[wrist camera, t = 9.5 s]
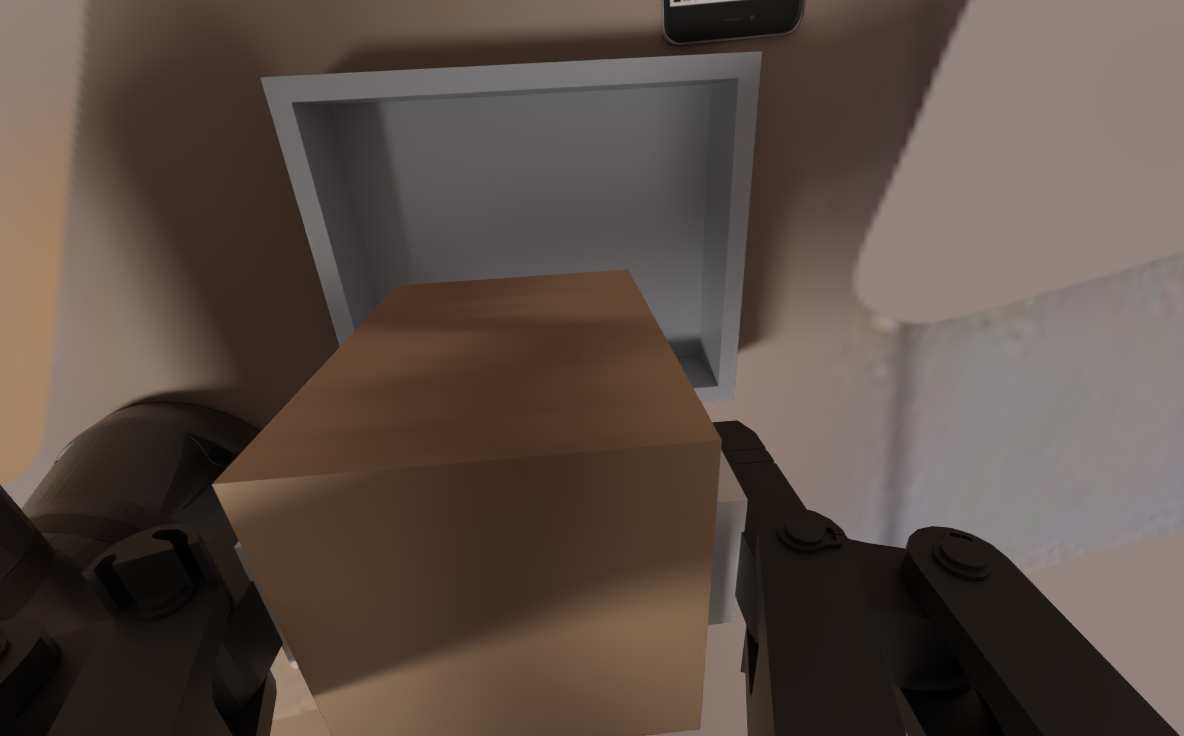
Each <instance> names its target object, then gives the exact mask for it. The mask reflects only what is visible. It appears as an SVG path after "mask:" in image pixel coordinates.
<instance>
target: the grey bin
mask: <svg viewBox="0 0 1184 736" xmlns="http://www.w3.org/2000/svg"><path fill="white" fill-rule="evenodd" d="M761 59H762V51H758V52H739V53H719V54H700V55H681V56H662V57H642V58H623V59H604V60H585V61H565V62H546V63H527V64H508V65H489V66H469V67H450V68H431V69H412V70H392V71H373V72H354V73H335V74H315V75H296V76H277V77H260V78H261V81H262V85H263V88H264V92H265V95H266V98H267V102H268V105H269V109H270V112H271V115H272V119H273V122H274V126H275V129H276V132H277V136H278V139H279V143H280V146H281V149H282V153H283V156H284V160H285V163H286V166H287V170H288V173H289V176H290V180H291V183H292V187H293V190H294V193H295V197H296V200H297V204H298V207H299V210H300V214H301V217H302V221H303V224H304V227H305V231H306V234H307V238H308V241H309V244H310V248H311V251H312V255H313V258H314V261H315V265H316V268H317V271H318V275H319V278H320V282H321V285H322V288H323V292H324V295H325V299H326V302H327V305H328V309H329V312H330V316H331V319H332V322H333V326H334V329H335V333H336V336H337V339H338V343H339V346H341V345H342V344H343V343H344V342H345V341H346V340H347V339H348V338H349V336H350V335H351V334H352V333H353V332H354V331H355V330H356V329H357V328H358V327H359V326H360V325H361V324H362V323H363V321H364V320H365V319H366V318H367V317H368V316H369V315H370V314H371V313H372V312H373V311H374V310H375V309H376V307H377V306H378V305H379V304H380V303H381V302H382V301H383V300H384V299H385V298H386V297H387V296H388V295H389V294H390V292H391V291H392V290H393V289H394V288H395V287H396V286H397V285H411V284H425V283H440V282H454V281H468V280H483V279H497V278H511V277H526V276H540V275H554V274H568V273H583V272H597V271H611V270H626V269H628V270H629V272H630V273H631V275H632V277H633V279H634V281H635V283H636V284H637V286H638V288H639V290H640V292H641V294H642V295H643V297H644V299H645V301H646V303H647V304H648V306H649V308H650V310H651V312H652V314H653V315H654V317H655V319H656V321H657V323H658V325H659V326H660V328H661V330H662V332H663V334H664V336H665V337H666V339H667V341H668V343H669V345H670V346H671V348H672V350H673V352H674V354H675V356H676V357H677V359H678V361H679V363H680V365H681V367H682V368H683V370H684V372H685V374H686V376H687V378H688V379H689V381H690V383H691V385H692V387H693V388H694V390H695V392H696V394H697V396H698V398H699V399H700V401H701V402H710V401H722V400H734V390H735V378H736V366H737V353H738V341H739V329H740V317H741V304H742V292H743V280H744V268H745V255H746V243H747V231H748V219H749V206H750V194H751V182H752V170H753V157H754V145H755V133H756V121H757V108H758V96H759V84H760V72H761Z"/></svg>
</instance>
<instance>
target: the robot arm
mask: <svg viewBox="0 0 1184 736" xmlns="http://www.w3.org/2000/svg"><path fill="white" fill-rule="evenodd" d="M713 425H714V427H715V429H716V430H717V432H718V434H719V436H720V438H721V440H722V443H721V456H720V470H719V483H718V496H717V510H716V523H715V537H714V550H713V563H712V577H711V590H710V604H709V617H708V625H712V624H722V623H731V622H735V613H736V603H737V602H738V604H739V607H740V610H741V612H742V615H743V617H744V620H745V622H746V632H745V640H744V648H743V656H742V665H741V672H744V673H745V675H746V701H747V728H748V736H907V735H908V736H1179V734H1178V733H1177V732H1176V731H1175V730H1174V729H1173V728H1172V727H1171V726H1170V725H1169V724H1168V723H1167V722H1166V721H1165V720H1164V719H1163V718H1162V717H1161V716H1160V715H1159V714H1158V713H1157V712H1156V711H1155V710H1154V709H1153V708H1152V706H1151V705H1150V704H1149V703H1148V702H1147V701H1146V700H1145V699H1144V698H1143V697H1142V696H1141V695H1140V694H1139V693H1138V692H1137V691H1136V690H1135V689H1134V688H1133V687H1132V686H1131V685H1130V684H1129V683H1128V682H1127V681H1126V680H1125V679H1124V678H1123V676H1121V674H1120V673H1119V672H1118V671H1117V670H1116V669H1115V668H1114V667H1113V666H1112V665H1111V664H1110V663H1109V662H1108V661H1107V660H1106V659H1105V658H1104V657H1103V656H1102V655H1101V654H1100V653H1099V652H1098V651H1097V650H1096V649H1095V648H1094V646H1093V645H1092V644H1091V643H1090V642H1089V641H1088V640H1087V639H1086V638H1085V637H1084V636H1083V635H1082V634H1081V633H1080V632H1079V631H1078V630H1077V629H1076V628H1075V627H1074V626H1073V625H1072V624H1071V623H1070V622H1069V621H1068V620H1067V619H1066V618H1065V616H1064V615H1063V614H1062V613H1061V612H1060V611H1059V610H1058V609H1057V608H1056V607H1055V606H1054V605H1053V604H1052V603H1051V602H1050V601H1049V600H1048V599H1047V598H1046V597H1045V596H1044V595H1043V594H1042V593H1041V592H1040V591H1039V590H1038V589H1037V587H1036V586H1035V585H1034V584H1033V583H1032V582H1031V581H1030V580H1029V579H1028V578H1027V577H1026V576H1025V575H1024V574H1023V573H1022V572H1021V571H1020V570H1019V569H1018V568H1017V567H1016V566H1015V565H1014V564H1013V563H1012V562H1011V561H1010V560H1009V559H1008V557H1006V556H1005V555H1004V554H1003V553H1001V552H1000V551H999V550H998V549H996V548H995V547H994V546H993V545H991V544H990V543H988V542H986V541H984V540H982V539H980V538H978V537H976V536H974V535H972V534H970V533H966V532H963V531H960V530H956V529H953V528H947V527H935V526H931V527H926V528H922V529H918V530H916V531H915V532H914V533H913V534H912V535H911V536H909V539H908V542H907V545H906V549H904V548H898V547H891V546H884V545H878V544H871V543H865V542H860V541H856V540H851V539H849V538H847V537H846V535H845V533H844V531H843V530H842V529H841V528H840V527H839V526H838V525H836V524H835V523H834V522H833V521H832V520H831V519H829V518H827V517H825V516H823V515H821V514H819V513H817V512H815V511H810V510H807V509H806V508H805V506H804V505H803V503H802V502H801V500H800V499H799V497H798V496H797V494H796V493H795V491H794V490H793V488H792V487H791V485H790V484H789V482H788V481H787V479H786V478H785V476H784V475H783V473H782V472H781V470H780V469H779V467H778V466H777V464H776V463H775V464H774V460H773V458H772V457H771V455H770V454H769V452H768V451H766V449H765V446H764V445H763V443H762V442H761V440H760V439H759V437H758V436H757V434H756V433H755V432H754V431H752V430H751V429H749V428H748V427H746V426H745V425H743V424H742V423H740V422H739V421H738V420H736V421H724V422H713ZM259 433H260V432H259V431H258V430H256V429H255V428H253V427H251V426H250V425H248V424H246V423H244V422H242V421H240V420H238V419H236V418H234V417H231V416H229V415H226V414H224V413H221V412H218V411H215V410H211V409H208V408H204V407H200V406H195V405H189V404H181V403H148V404H141V405H135V406H132V407H128V408H125V409H122V410H119V411H117V412H114V413H112V414H110V415H108V416H107V417H105V418H103V419H102V420H100V421H99V422H97V423H96V424H94V425H93V426H91V427H90V428H88V429H87V430H85V431H84V432H82V433H81V434H80V435H78V436H77V437H76V438H74V439H73V440H72V441H71V442H70V443H69V444H68V445H67V446H66V447H65V448H64V449H63V450H62V451H61V453H60V454H59V455H58V457H57V459H56V460H55V462H54V464H53V466H52V468H51V470H50V471H49V473H48V474H47V475H46V476H45V478H44V479H43V480H42V482H41V483H40V484H39V486H38V487H37V488H36V490H35V491H34V492H33V494H32V495H31V497H30V498H29V499H28V501H27V502H26V503H25V505H24V506H23V508H22V509H20V508H19V506H18V505H17V504H16V503H15V502H14V501H13V499H12V498H11V497H10V496H9V495H8V494H7V492H6V491H5V490H4V489H3V488H2V486H1V485H0V736H270V731H271V725H272V719H273V713H274V706H275V700H276V694H277V691H276V680H275V679H274V677H273V675H272V673H271V671H270V668H271V666H272V664H273V662H274V660H275V658H276V656H277V654H278V652H279V650H280V648H281V646H282V648H283V650H284V652H285V654H286V656H287V658H288V660H289V662H290V664H291V666H292V668H299V667H298V665H297V663H296V660H295V658H294V656H293V654H292V652H291V650H290V648H289V646H288V644H287V641H286V639H285V637H284V635H283V633H282V631H281V629H280V627H279V625H278V623H277V620H276V618H275V616H274V614H273V612H272V610H271V608H270V606H269V604H268V601H267V599H266V597H265V595H264V593H263V591H262V589H261V587H260V585H259V583H258V580H257V578H256V576H255V574H254V572H253V570H252V568H251V566H250V564H249V561H248V559H247V557H246V555H245V553H244V551H243V549H242V547H241V545H240V542H239V540H238V538H237V536H236V534H235V532H234V530H233V528H232V526H231V524H230V521H229V519H228V517H227V515H226V513H225V511H224V509H223V507H222V505H221V502H220V500H219V498H218V496H217V494H216V492H215V490H214V488H213V486H212V484H213V483H214V482H215V480H216V479H217V478H218V477H219V476H220V475H221V474H222V473H223V472H224V471H225V470H226V469H227V468H228V467H229V465H230V464H231V463H232V462H233V461H234V460H235V459H236V458H237V457H238V456H239V455H240V454H241V453H242V451H243V450H244V449H245V448H246V447H247V446H248V445H249V444H250V443H251V442H252V441H253V440H254V439H255V438H256V436H257V435H258V434H259ZM905 731H906V732H905ZM906 733H907V735H906Z"/></svg>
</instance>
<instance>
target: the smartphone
mask: <svg viewBox="0 0 1184 736" xmlns="http://www.w3.org/2000/svg"><path fill="white" fill-rule="evenodd" d="M661 7H662V33H663V36H664V38H665V39H666V41H667V42H668V43H670V44H672V45H687V44H697V43H707V42H717V41H728V40H738V39H748V38H758V37H769V36H779V35H786V34H789V33H791V32H792V31H794V30H795V29H796V28H797V26H798V25H799V23H800V21H801V17H802V7H803V0H661Z"/></svg>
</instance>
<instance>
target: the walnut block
mask: <svg viewBox="0 0 1184 736" xmlns="http://www.w3.org/2000/svg"><path fill="white" fill-rule="evenodd" d="M721 443H722V440H721V438H720V436H719V434H718V432H717V430H716V429H715V427H714V425H713V423H712V421H711V420H710V418H709V416H708V414H707V412H706V410H705V409H704V407H703V405H702V403H701V401H700V399H699V398H698V396H697V394H696V392H695V390H694V388H693V387H692V385H691V383H690V381H689V379H688V378H687V376H686V374H685V372H684V370H683V368H682V367H681V365H680V363H679V361H678V359H677V357H676V356H675V354H674V352H673V350H672V348H671V346H670V345H669V343H668V341H667V339H666V337H665V336H664V334H663V332H662V330H661V328H660V326H659V325H658V323H657V321H656V319H655V317H654V315H653V314H652V312H651V310H650V308H649V306H648V304H647V303H646V301H645V299H644V297H643V295H642V294H641V292H640V290H639V288H638V286H637V284H636V283H635V281H634V279H633V277H632V275H631V273H630V272H629V270H628V269H626V270H611V271H597V272H583V273H568V274H554V275H540V276H526V277H511V278H497V279H483V280H468V281H454V282H440V283H425V284H411V285H397V286H396V287H395V288H394V289H393V290H392V291H391V292H390V294H389V295H388V296H387V297H386V298H385V299H384V300H383V301H382V302H381V303H380V304H379V305H378V306H377V307H376V309H375V310H374V311H373V312H372V313H371V314H370V315H369V316H368V317H367V318H366V319H365V320H364V321H363V323H362V324H361V325H360V326H359V327H358V328H357V329H356V330H355V331H354V332H353V333H352V334H351V335H350V336H349V338H348V339H347V340H346V341H345V342H344V343H343V344H342V345H341V346H340V347H339V348H338V349H337V350H336V352H335V353H334V354H333V355H332V356H331V357H330V358H329V359H328V360H327V361H326V362H325V363H324V364H323V366H322V367H321V368H320V369H319V370H318V371H317V372H316V373H315V374H314V375H313V376H312V377H311V378H310V379H309V381H308V382H307V383H306V384H305V385H304V386H303V387H302V388H301V389H300V390H299V391H298V392H297V393H296V395H295V396H294V397H293V398H292V399H291V400H290V401H289V402H288V403H287V404H286V405H285V406H284V407H283V408H282V410H281V411H280V412H279V413H278V414H277V415H276V416H275V417H274V418H273V419H272V420H271V421H270V422H269V424H268V425H267V426H266V427H265V428H264V429H263V430H262V431H261V432H260V433H259V434H258V435H257V436H256V438H255V439H254V440H253V441H252V442H251V443H250V444H249V445H248V446H247V447H246V448H245V449H244V450H243V451H242V453H241V454H240V455H239V456H238V457H237V458H236V459H235V460H234V461H233V462H232V463H231V464H230V465H229V467H228V468H227V469H226V470H225V471H224V472H223V473H222V474H221V475H220V476H219V477H218V478H217V479H216V480H215V482H214V483H213V484H212V486H213V488H214V490H215V492H216V494H217V496H218V498H219V500H220V502H221V505H222V507H223V509H224V511H225V513H226V515H227V517H228V519H229V521H230V524H231V526H232V528H233V530H234V532H235V534H236V536H237V538H238V540H239V542H240V545H241V547H242V549H243V551H244V553H245V555H246V557H247V559H248V561H249V564H250V566H251V568H252V570H253V572H254V574H255V576H256V578H257V580H258V583H259V585H260V587H261V589H262V591H263V593H264V595H265V597H266V599H267V601H268V604H269V606H270V608H271V610H272V612H273V614H274V616H275V618H276V620H277V623H278V625H279V627H280V629H281V631H282V633H283V635H284V637H285V639H286V641H287V644H288V646H289V648H290V650H291V652H292V654H293V656H294V658H295V660H296V663H297V665H298V667H299V669H300V671H301V673H302V675H303V677H304V679H305V681H306V684H307V686H308V688H309V690H310V692H311V694H312V696H313V698H314V700H315V703H316V705H317V707H318V709H319V711H320V713H321V715H322V717H323V719H324V721H325V724H326V726H327V728H328V730H329V732H330V734H331V736H645V735H653V734H662V733H671V732H679V731H688V730H697V729H700V724H701V711H702V697H703V683H704V671H705V657H706V644H707V630H708V617H709V604H710V590H711V577H712V563H713V550H714V537H715V523H716V510H717V496H718V483H719V470H720V456H721Z"/></svg>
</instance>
